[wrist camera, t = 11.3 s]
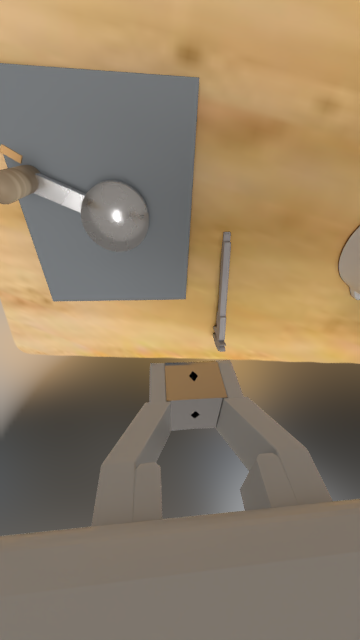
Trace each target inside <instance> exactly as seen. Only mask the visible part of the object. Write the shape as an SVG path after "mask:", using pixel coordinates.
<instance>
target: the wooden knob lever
mask: <svg viewBox="0 0 360 640" xmlns="http://www.w3.org/2000/svg"><path fill="white" fill-rule="evenodd" d="M32 193H34V194H37V195H39V196H42V197H44V198H46V199H49V200H51V201H54V202H56V203H58V204H61V205H63V206H66V207H68V208H70V209H73V210H75V211H78V212H80V213H81V220H82V224H83V226H84V229H85V231H86V232H87V234H88V235H89V237H90V238H91V239H92V240H93V241H94V242H95V243H96V244H98V245H99V246H101V247H103V248H105V249H107V250H110V251H115V252H124V251H128V250H131V249H133V248H135V247H137V246H138V245H139V244H140V243H141V242H142V241H143V239H144V238H145V236H146V234H147V230H148V225H149V212H148V208H147V205H146V202H145V200H144V198H143V197H142V195H141V194H140V193H139V192H138V191H137V190H136V189H135V188H134V187H133V186H131V185H129V184H128V183H126V182H123V181H120V180H105V181H102V182H100V183H98V184H96V185H95V186H94V187H93V188H91V189H90V190H89V191H88V192H87V193H83V192H81V191H79V190H77V189H74V188H72V187H70V186H68V185H65V184H63V183H61V182H59V181H56V180H54V179H52V178H50V177H47V176H45V175H43V174H41V173H40V172H39V171H38V170H37V169H36V168H35V167H33V166H31V165H22V166H17V167H13V168H8V169H3V170H0V203H1V204H10V203H12V202H15V201H17V200H19V199H21V198H23V197H25V196H28V195H30V194H32Z"/></svg>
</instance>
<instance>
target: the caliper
mask: <svg viewBox="0 0 360 640" xmlns="http://www.w3.org/2000/svg"><path fill="white" fill-rule="evenodd" d="M230 236H231V234H230V232H224V233H223V242H222V252H221V270H220V288H219V305H218V312H217V326H214V327H213V329H214V331H215V333H213V338H214V341H215V345H216V347H217V349H218V351H220V352H221V351H225V347H224V346H226V344H225V342H224V339H225V326H226V303H227V290H228V276H229V263H230V249H231V242H230Z"/></svg>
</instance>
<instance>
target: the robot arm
mask: <svg viewBox="0 0 360 640" xmlns="http://www.w3.org/2000/svg"><path fill="white" fill-rule="evenodd" d="M339 273H340V276H341V278H342V280H343V281H344V282H345V283H346V284H347V285H348V286H349V287H350V293H351V296H352V297H353V298H355V299H356V300H360V226H359V228H358V229H357V230H356V231H355V232H354V233H353V234H352V236H351V237H350V239H349V240H348V242H347V243H346V245H345V247H344V249H343V251H342V253H341V256H340V260H339ZM193 428H194V429H196V428H216V429H217V431H218V432H219V433H220V434H221V436H222V437H223V438H224V440H225V441H226V442H227V443H228V445H229V446H230V447H231V448H232V450H233V451H234V452H235V454H236V455H237V456H238V457H239V459H240V460H241V461H242V463H243V464H244V465H245V466H246V468H247V469H248V470H249V474H248V476H247V477H246V479H245V481H244V483H243V485H242V487H241V489H240V491H241V496H242V500H243V504H244V508H245V511H237V512H228V513H219V514H208V515H199V516H190V517H179V518H170V519H162V498H161V468H160V466H159V465H158V464H156V461H157V459H158V457H159V455H160V453H161V451H162V449H163V447H164V445H165V442H166V440H167V438H168V436H169V434H170V431H173V430H184V429H193ZM0 640H360V499H353V500H343V501H332V499H331V497H330V494H329V492H328V490H327V488H326V486H325V484H324V482H323V480H322V478H321V476H320V474H319V472H318V470H317V468H316V466H315V465H314V462H313V460H312V458H311V456H310V454H309V452H308V450H307V449H306V448H305V447H304V446H303V445H302V444H301V443H300V442H298V441H297V440H296V439H295V438H294V437H293V436H292V435H290V434H289V433H288V432H287V431H286V430H285V429H284V428H283V427H281V426H280V425H279V424H278V423H277V422H276V421H274V420H273V419H272V418H271V417H270V416H269V415H268V414H266V413H265V412H264V411H263V410H262V409H261V408H260V407H259V406H257V405H256V404H255V403H254V402H253V401H252V400H251V399H249V398H248V397H243V394H242V391H241V388H240V385H239V383H238V380H237V377H236V374H235V371H234V369H233V366H232V363H231V361H230V360H223V361H202V362H201V361H200V362H188V363H187V362H186V363H151V364H150V401H149V403H145V404H144V405H143V407H142V408H141V410H140V411H139V413H138V414H137V415H136V417H135V418H134V420H133V421H132V422H131V424H130V425H129V427H128V428H127V430H126V431H125V432H124V434H123V435H122V437H121V438H120V440H119V441H118V442H117V444H116V445H115V447H114V448H113V449H112V451H111V452H110V454H109V455H108V456H107V458H106V460H105V461H104V462H103V464H102V465H101V471H100V477H99V483H98V489H97V496H96V502H95V508H94V515H93V520H92V526H91V527H84V528H74V529H64V530H55V531H46V532H35V533H26V534H17V535H6V536H0Z"/></svg>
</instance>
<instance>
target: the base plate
mask: <svg viewBox="0 0 360 640" xmlns="http://www.w3.org/2000/svg"><path fill="white" fill-rule="evenodd" d="M198 89H199V78H197V77H183V76H169V75H155V74H142V73H128V72H114V71H100V70H86V69H72V68H59V67H45V66H31V65H17V64H3V63H0V146H1V148H0V152H1V153H3V155H4V158H5V161H6V164H7V167H8V168H13V167H17V166H22V165H31V166H33V167H35V168H36V169H37V170H38V171H39V172H40V173H41V174H43V175H45V176H47V177H50V178H52V179H54V180H56V181H59V182H61V183H63V184H65V185H68V186H70V187H72V188H74V189H77V190H79V191H81V192H83V193H87V192H88V191H89V190H90V189H91V188H93V187H94V186H95V185H96V184H98V183H100V182H102V181H105V180H120V181H123V182H126V183H128V184H129V185H131V186H133V187H134V188H135V189H136V190H137V191H138V192H139V193H140V194H141V195H142V197H143V198H144V200H145V202H146V205H147V208H148V212H149V225H148V230H147V234H146V236H145V238H144V239H143V241H142V242H141V243H140V244H139V245H138V246H137V247H135V248H133V249H131V250H128V251H124V252H115V251H110V250H107V249H105V248H103V247H101V246H99V245H98V244H96V243H95V242H94V241H93V240H92V239H91V238H90V237H89V235H88V234H87V232H86V231H85V229H84V226H83V224H82V220H81V213H80V212H78V211H75V210H73V209H70V208H68V207H66V206H63V205H61V204H58V203H56V202H54V201H51V200H49V199H46V198H44V197H42V196H39V195H37V194H34V193H32V194H30V195H28V196H25V197H23V198H21V199H19V202H20V205H21V208H22V211H23V214H24V217H25V220H26V222H27V225H28V228H29V231H30V234H31V237H32V240H33V243H34V246H35V249H36V252H37V255H38V258H39V261H40V264H41V266H42V269H43V272H44V275H45V278H46V281H47V284H48V287H49V290H50V293H51V296H52V299H53V301H103V300H167V299H186V284H187V268H188V252H189V235H190V219H191V203H192V187H193V170H194V154H195V138H196V122H197V106H198Z"/></svg>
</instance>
